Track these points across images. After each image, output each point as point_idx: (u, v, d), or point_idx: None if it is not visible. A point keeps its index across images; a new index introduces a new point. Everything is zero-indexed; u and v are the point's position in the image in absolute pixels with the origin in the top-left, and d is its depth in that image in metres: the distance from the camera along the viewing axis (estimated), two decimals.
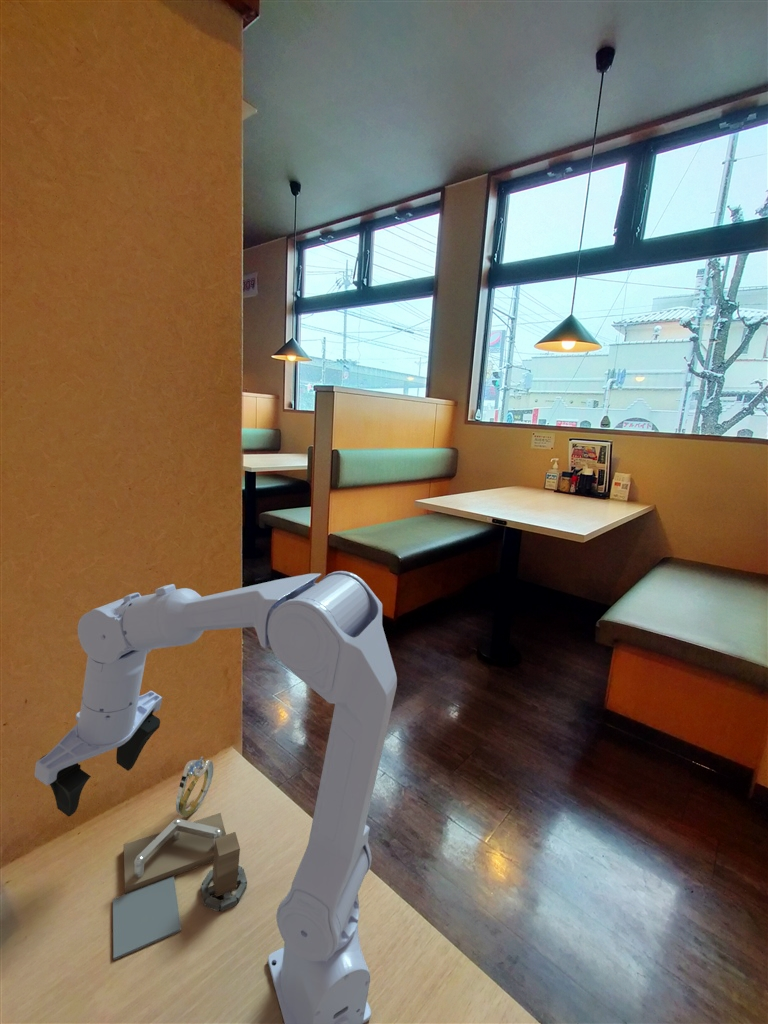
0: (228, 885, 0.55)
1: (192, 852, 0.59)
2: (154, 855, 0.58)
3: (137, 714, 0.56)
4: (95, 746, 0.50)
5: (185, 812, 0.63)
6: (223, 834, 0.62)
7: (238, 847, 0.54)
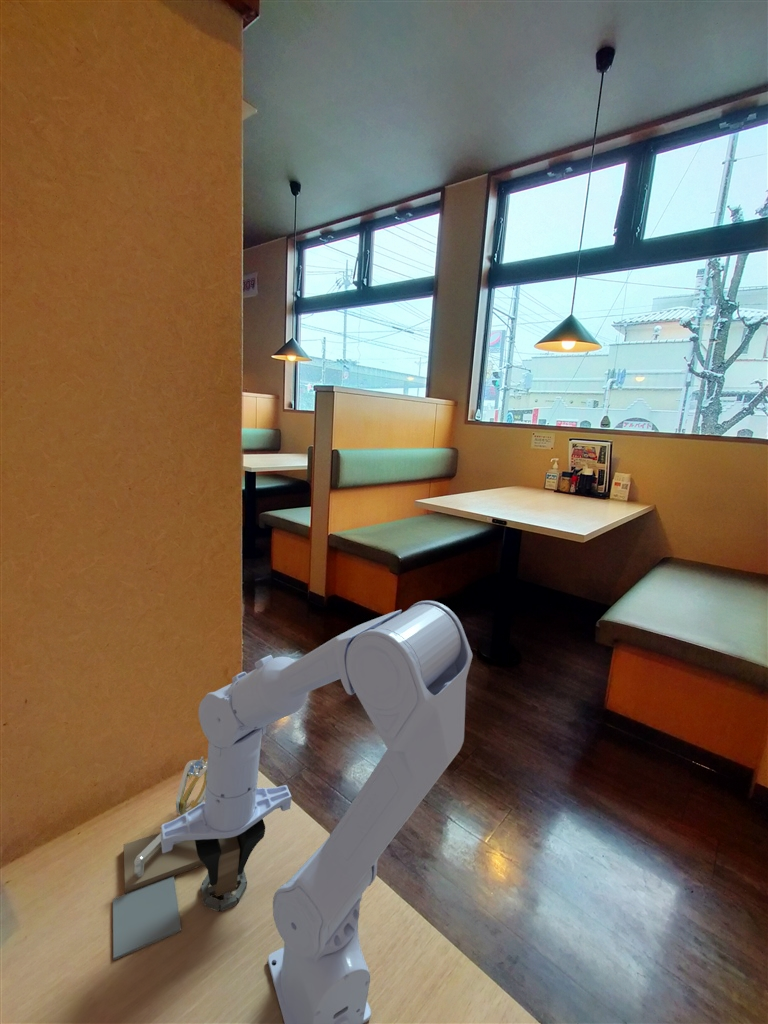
0: (228, 885, 0.55)
1: (192, 852, 0.59)
2: (154, 855, 0.58)
3: (261, 808, 0.55)
4: (209, 828, 0.51)
5: (185, 812, 0.63)
6: None
7: (238, 847, 0.54)
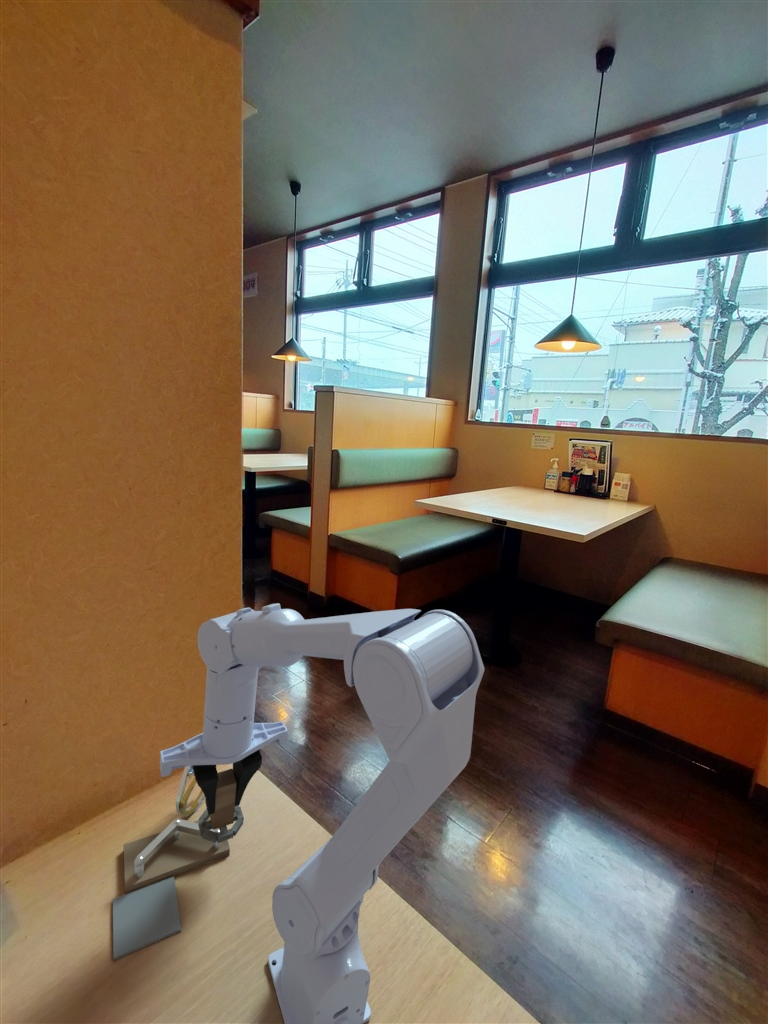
0: (225, 819, 0.56)
1: (192, 852, 0.59)
2: (154, 855, 0.58)
3: (258, 740, 0.56)
4: (207, 755, 0.52)
5: (185, 812, 0.63)
6: None
7: (235, 781, 0.56)
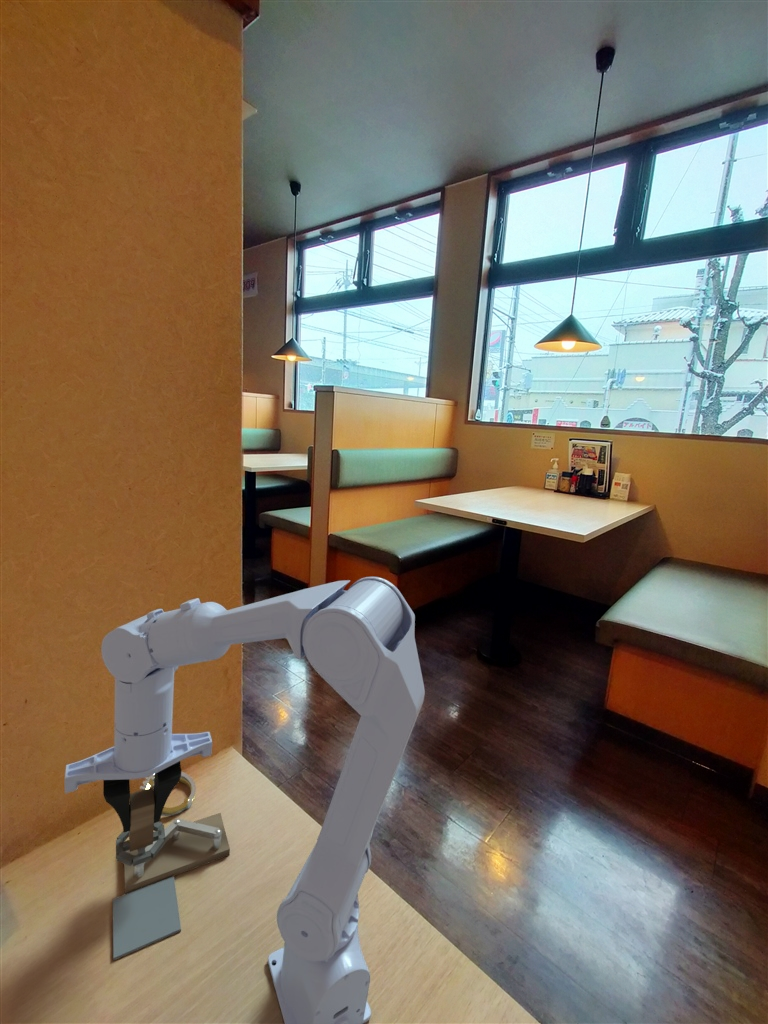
0: (143, 841, 0.53)
1: (192, 852, 0.59)
2: None
3: (178, 752, 0.53)
4: (117, 769, 0.49)
5: (166, 808, 0.64)
6: (223, 834, 0.62)
7: (153, 802, 0.52)
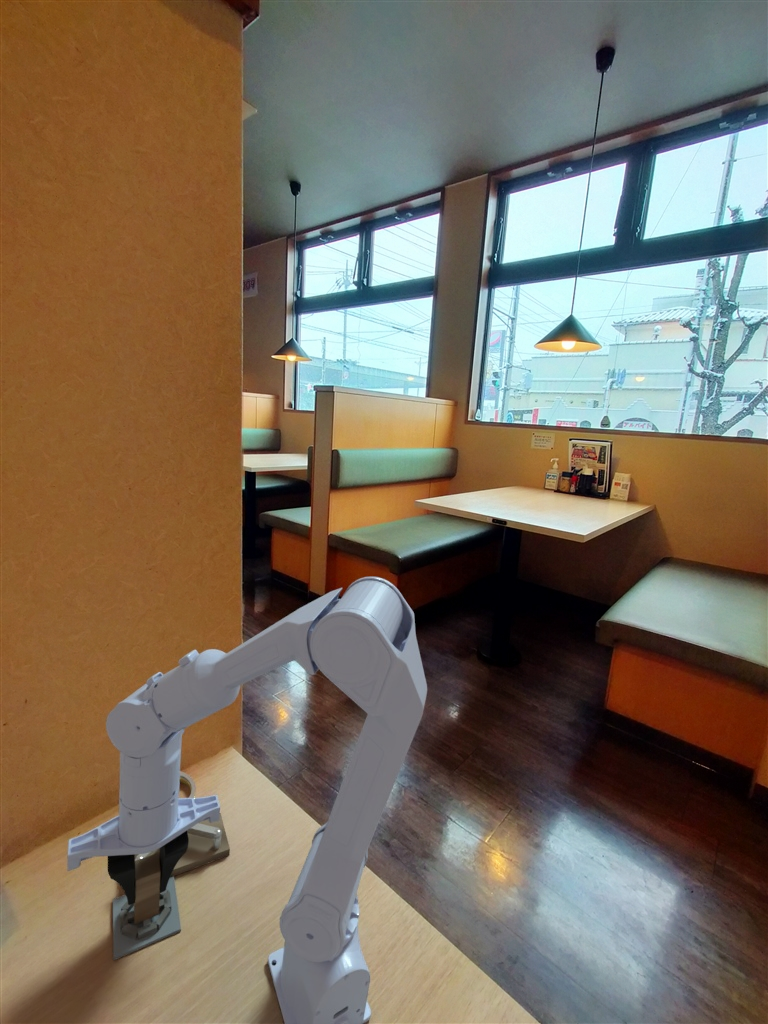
0: (148, 911, 0.51)
1: (192, 852, 0.59)
2: None
3: (185, 820, 0.51)
4: (122, 843, 0.47)
5: None
6: (223, 834, 0.62)
7: (158, 870, 0.50)
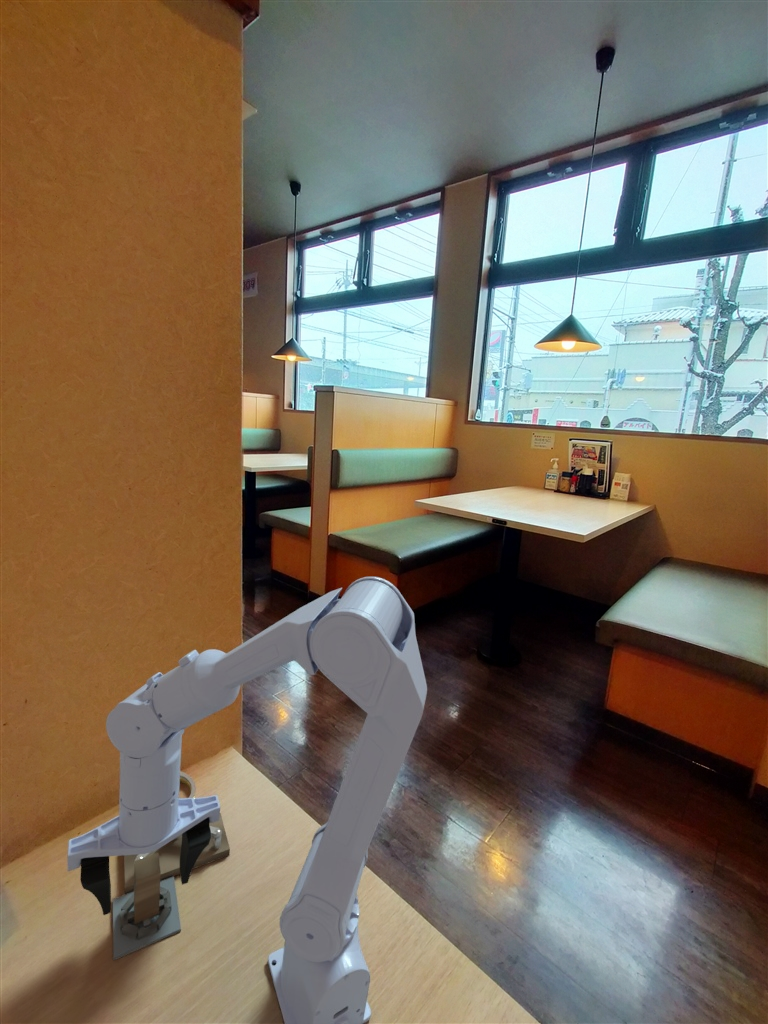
0: (148, 911, 0.51)
1: None
2: None
3: (186, 820, 0.51)
4: (122, 843, 0.47)
5: None
6: (223, 834, 0.62)
7: (158, 870, 0.50)
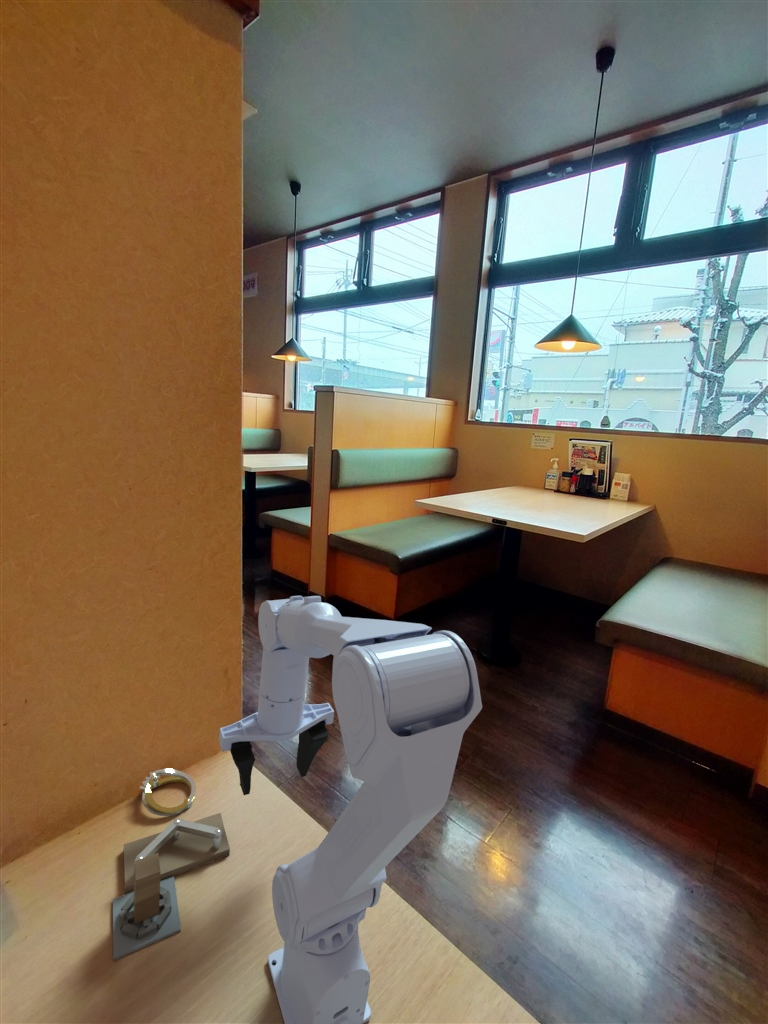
0: (148, 911, 0.51)
1: (192, 852, 0.59)
2: None
3: (308, 719, 0.59)
4: (263, 732, 0.56)
5: (166, 808, 0.64)
6: (223, 834, 0.62)
7: (158, 870, 0.50)
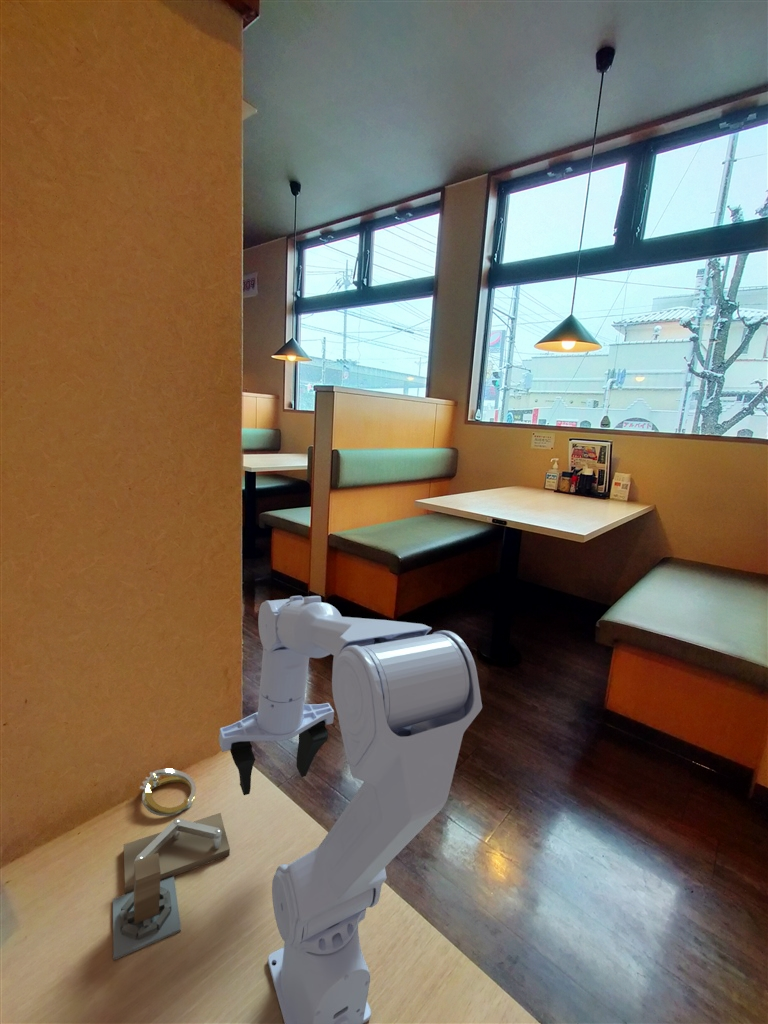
0: (148, 911, 0.51)
1: (192, 852, 0.59)
2: None
3: (308, 719, 0.59)
4: (263, 732, 0.56)
5: (166, 808, 0.64)
6: (223, 834, 0.62)
7: (158, 870, 0.50)
